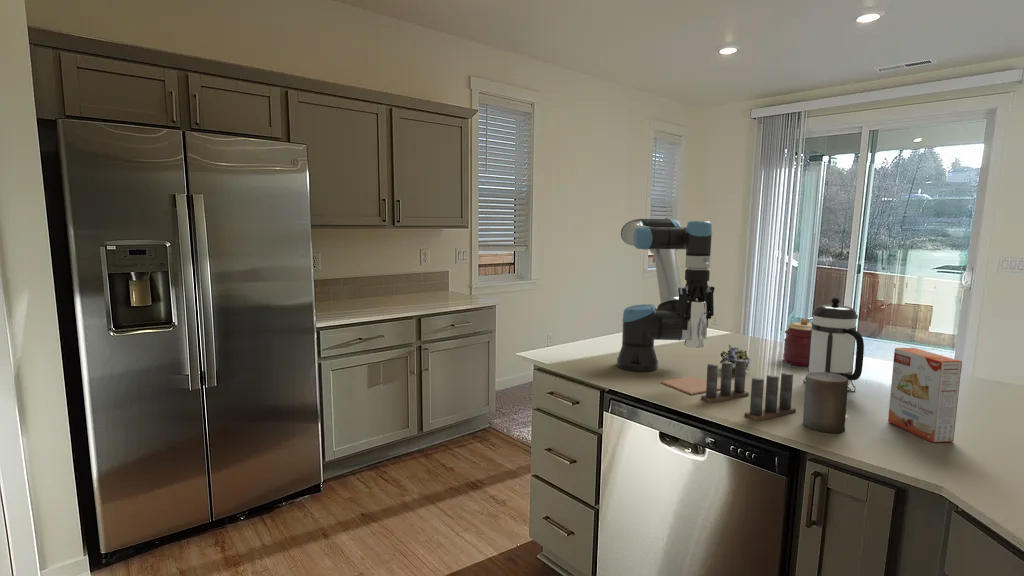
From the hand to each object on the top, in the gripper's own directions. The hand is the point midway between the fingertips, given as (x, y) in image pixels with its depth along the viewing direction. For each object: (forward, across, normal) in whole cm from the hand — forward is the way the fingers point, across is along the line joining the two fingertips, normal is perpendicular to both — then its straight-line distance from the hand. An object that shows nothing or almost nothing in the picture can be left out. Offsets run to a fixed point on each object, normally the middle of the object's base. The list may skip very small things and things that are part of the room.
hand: (694, 338), depth 169 cm
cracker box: (+17, +25, -54) cm, 62 cm away
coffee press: (+16, +41, -21) cm, 49 cm away
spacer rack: (+16, +1, -21) cm, 26 cm away
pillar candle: (+17, +6, -41) cm, 44 cm away
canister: (+16, +62, +5) cm, 64 cm away
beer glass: (+3, 0, 0) cm, 3 cm away
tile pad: (+16, 0, 0) cm, 16 cm away
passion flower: (+16, +27, +7) cm, 32 cm away
